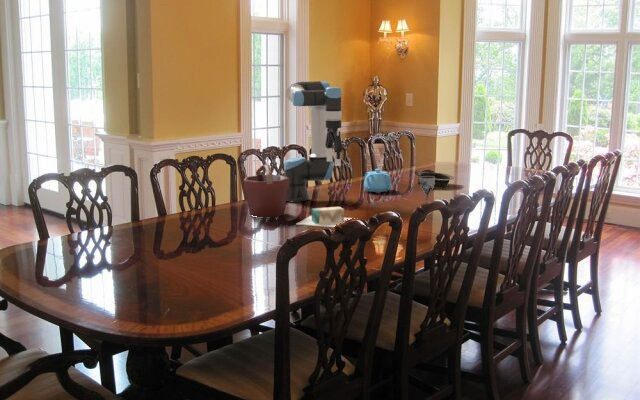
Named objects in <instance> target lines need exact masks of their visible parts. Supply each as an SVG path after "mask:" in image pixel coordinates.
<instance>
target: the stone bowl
mask: <svg viewBox="0 0 640 400" xmlns="http://www.w3.org/2000/svg"><path fill="white" fill-rule="evenodd" d="M414 174H415V175H416V176H418V179H417V185H419V186H420V177H421V176H433V177H435V185H434V188H433V189H436V188H441V189H443V188H446V187H447V186H448V185H449V183H450V180H451V181H453V180H456V177H455V176H453V175H450V174H447V173H442V172H436V171H434V170H431V169H425V170H422V171H414Z"/></svg>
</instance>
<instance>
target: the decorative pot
mask: <svg viewBox="0 0 640 400" xmlns="http://www.w3.org/2000/svg"><path fill="white" fill-rule="evenodd" d="M391 176H392V175H390V174H389V172H388V171H383V170H381V168H375V169H374V170H373V171H367V172H366V173H365V174H364V181H363V189H364V190H365V191H367V193H373V192H374V193H375V194H377V193H378V195H379V194H381V192H382V193H388V191H390V190H391V189H392V186H393V185H392V177H391Z"/></svg>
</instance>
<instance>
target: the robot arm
mask: <svg viewBox="0 0 640 400" xmlns="http://www.w3.org/2000/svg"><path fill="white" fill-rule="evenodd" d="M286 97H287V99H288V100H289V101H290V102H291V103H292V106H294V107H307V108H308V109H310V132H311V133H310V134H311V137H310V139H311V141H310V142H311V153H310V154H309V156H308V159H306V158H305V157H303V156H302V157H299V156H298V157H297V156H296V157H292V158H288V159H287V160H285V161H284V164H283V165H284V167H283V171H284V176H285V177H288V178H289V190H288V195H287V201H293V202H292V203H301V202H300V201H305V202H307V201H306V200H308V201H309V200H310V195H309V193H308V192H309V191H308V188H307V185H306V184H307V182H311V181H312V182H314V181H320V182H322V181H329V180H330V179H331V178H332V176H333V170H334V166H335V167H341V165H342V163H341V160H342V158H341V155H342V152H343V145H342V138H341V131H339V130H338V129H341V128H342V120H341V119H342V115H343V112H342V88H341V87H338V86H330V83H329V82H328V81H323V80H322V81H321V80H320V81H297V82H295V83H293V84H291V85H289V86H288V87H287V90H286ZM333 148H334V161H333Z"/></svg>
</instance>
